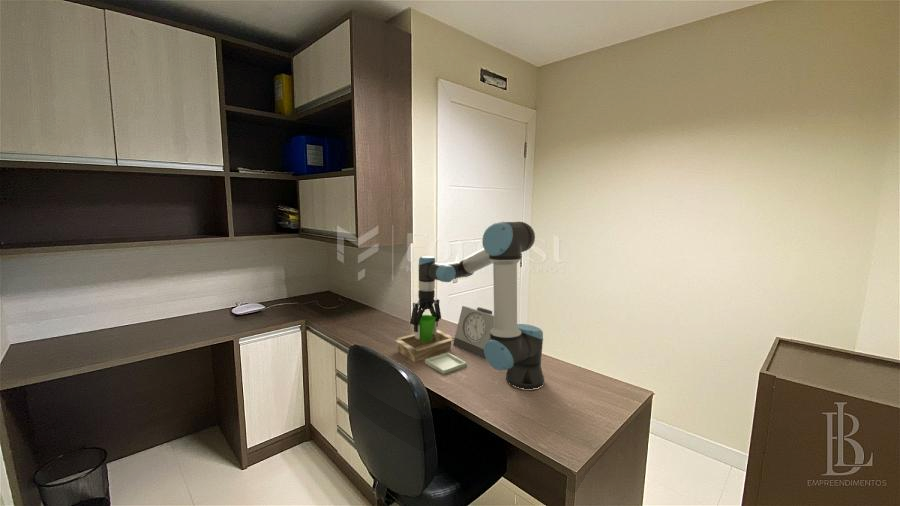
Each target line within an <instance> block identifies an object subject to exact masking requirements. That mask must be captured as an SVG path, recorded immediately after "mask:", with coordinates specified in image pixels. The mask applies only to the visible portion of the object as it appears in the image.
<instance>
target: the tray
mask: <svg viewBox="0 0 900 506" xmlns="http://www.w3.org/2000/svg"><path fill="white" fill-rule="evenodd" d="M467 362H468V361H467ZM467 362H466V361H465V360H463V359H461V358H459V357H458V356H456V355H453V354H452V353H451V352H449V351H447V352H444V353H441V354H438V355H435V356H431V357H428V358H425V359H424V364H426V365H428V367H430V368H432V369H433V370H435V371H436V372H439V373H440V374H442V375H444V376H445V375H447V374H449V373H452V372H455V371H458V370H460V369H463V368H466V367H467V365H468V363H467Z"/></svg>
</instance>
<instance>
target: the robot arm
mask: <svg viewBox="0 0 900 506" xmlns="http://www.w3.org/2000/svg"><path fill="white" fill-rule="evenodd" d="M535 234H536V233H535V231H534V228H532V226H531V225H529V223H526V222H524V221H501V222H494V223H492V224H490V225H489V226H488V227H487V228H486V229H485V231H484V233H483V235H482V246H483V248H481V249H480V250H478V251H475V252H474V253H472V254H470V255H468V256H466V257H464V258H463V259H461V260H459V261H458V260H457V261H453V262H444V263H443V262H442V263H440V262H436V257H434V256H433V255H423V256H420V257H419V258H418V289H419V290H418V295H417V296H418V302H413V303H412V310H411V311H412V312H411V315H410V317H411V318H410V322H409V323H410V324H411V325H413V331H414V334H415V338H417V339H420V325H418V324H419V322H420V320H421V317H422V315H424V313H425V311H427V310H429V312H430V315H432V316H434V317H436V319H435V322H434V327H433V333H432V334H434V335H436V330H438V326H439V325H438V323H439V321H440V320H441V319H442V313H441V308H440V299H439V298H438V299H437V298H435V295H436V294H435V292H436V291H435V289H436V285H435V284H436V281H440V282H442V283H450V282H452V281H453V280H455V279H460V278H468V277H471V276H472V275H474V273H475V272H477V271H479V270H481V269H484V268H485V267H487V266H490V265H492V264H493V265H492V266H493V267H492V268H493V315H494V328H493V329H491V330H490V340H488V341H487V343H486V344H485V346H484V354H485V357H486V361H487V362H488V363H489V365H490V366H491V367H492V368H493V369H494V370H498V371H505V370H507V371H506V373H505V380H507V381H506V383H507V384H509V383H510V384H511V385H514V386H516V387H519V388H524V389H533V388H538V387H540V386H542V385H543V383H544V384H545V376H544V374H543V369H542V365H541V364H542V356H543V345H544V344H543V342H544V332H543V330H542V329H541V328H540V327H537V326H534V325H531V324H525V323H518V263H519V262H520V261H521V260H522V253H523V252H527V251H528V250H530V249H531V248H532V247H533V246H534V244H535V240H536V235H535ZM510 384H509V385H510ZM511 385H510V386H511ZM543 386H544V385H543Z"/></svg>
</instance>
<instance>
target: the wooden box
mask: <svg viewBox="0 0 900 506" xmlns="http://www.w3.org/2000/svg"><path fill="white" fill-rule="evenodd" d="M454 339H455V336H453V335H451V334H448V333H446V332H444V331H442V330H440V329H437V330H436V335H434V334H432V339H431V341H429V342H422V341H421V340H420V339H417V338H415V333H412V334H408V335H404V336H398V337H396V339H395V340H394V342H395V343H397V344H398V348H397V349H398V353H400V354H402V355H403V356H404V357H406V358H407V359H409V360H411V361H412V362H413V363H414V362H418V361H421V360H425V359H428V358H431V357H434V356H438V355H441V354H444V353H447V352H451V350H452V342H454Z"/></svg>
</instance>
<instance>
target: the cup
mask: <svg viewBox="0 0 900 506" xmlns="http://www.w3.org/2000/svg"><path fill="white" fill-rule="evenodd" d="M435 319H436V317H434V316H432V315H431V314H423V315H422V317H421V320H420V322H419V324H418V325H420V340H421V341H422V342H429V341H431V339H432V333H433V327H434V322H435Z"/></svg>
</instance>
